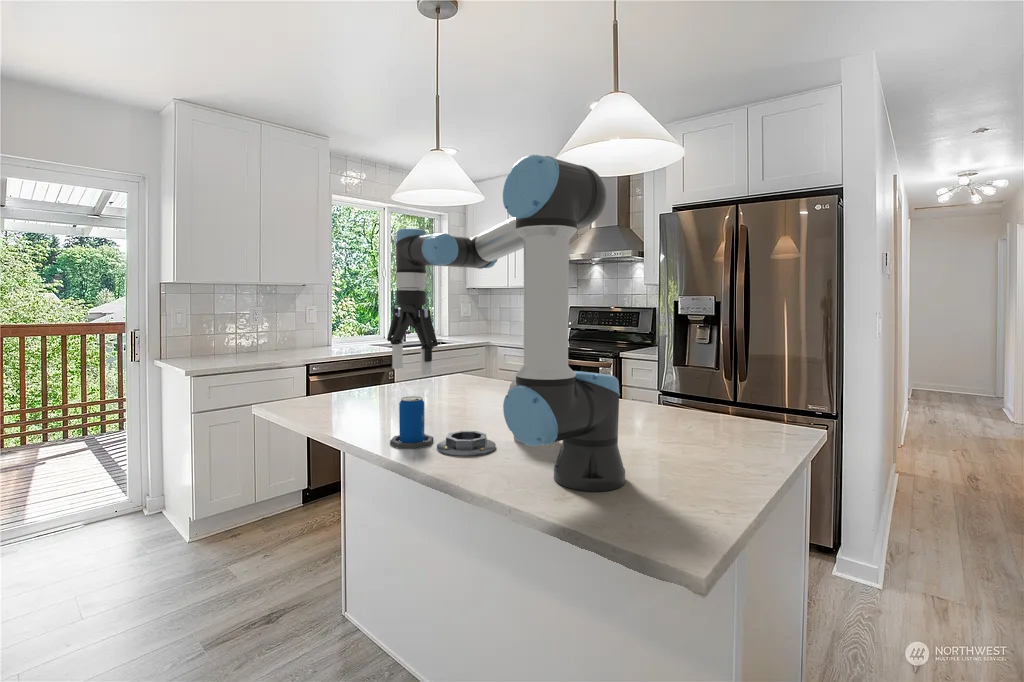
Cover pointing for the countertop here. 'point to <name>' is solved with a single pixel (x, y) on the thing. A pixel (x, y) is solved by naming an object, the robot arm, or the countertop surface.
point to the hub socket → (466, 444)
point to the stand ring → (400, 445)
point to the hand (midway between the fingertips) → (411, 371)
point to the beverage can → (411, 419)
